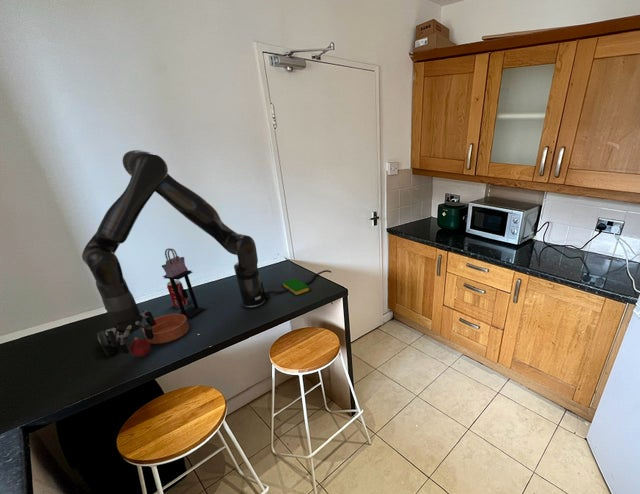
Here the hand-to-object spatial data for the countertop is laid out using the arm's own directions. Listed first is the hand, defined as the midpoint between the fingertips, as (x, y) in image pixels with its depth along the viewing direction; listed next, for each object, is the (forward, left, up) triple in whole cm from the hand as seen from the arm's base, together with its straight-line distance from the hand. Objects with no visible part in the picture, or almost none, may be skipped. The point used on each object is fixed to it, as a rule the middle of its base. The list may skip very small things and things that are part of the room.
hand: (138, 345), depth 109 cm
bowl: (-13, -4, -5) cm, 15 cm away
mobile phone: (0, -18, -5) cm, 19 cm away
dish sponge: (-62, +22, -5) cm, 66 cm away
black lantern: (-28, -9, -5) cm, 30 cm away
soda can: (-32, -19, -5) cm, 38 cm away
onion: (0, 0, -5) cm, 5 cm away
